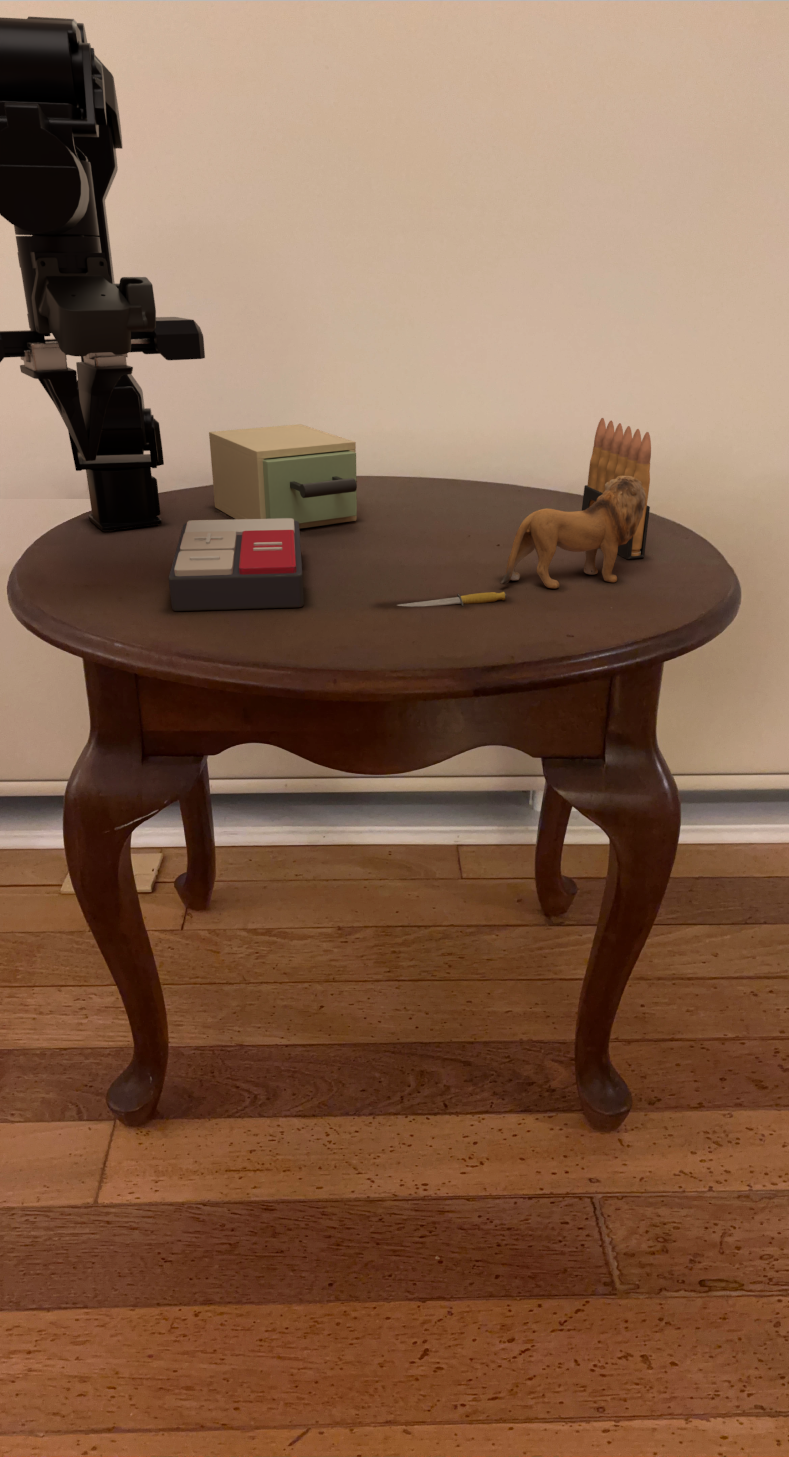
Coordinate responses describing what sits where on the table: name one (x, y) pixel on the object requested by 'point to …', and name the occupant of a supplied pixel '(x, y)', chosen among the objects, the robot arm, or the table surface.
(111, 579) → the table surface
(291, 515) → the drawer
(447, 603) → the dagger
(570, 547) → the lion figurine
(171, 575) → the calculator
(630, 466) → the ammunition clip
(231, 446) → the cabinet
